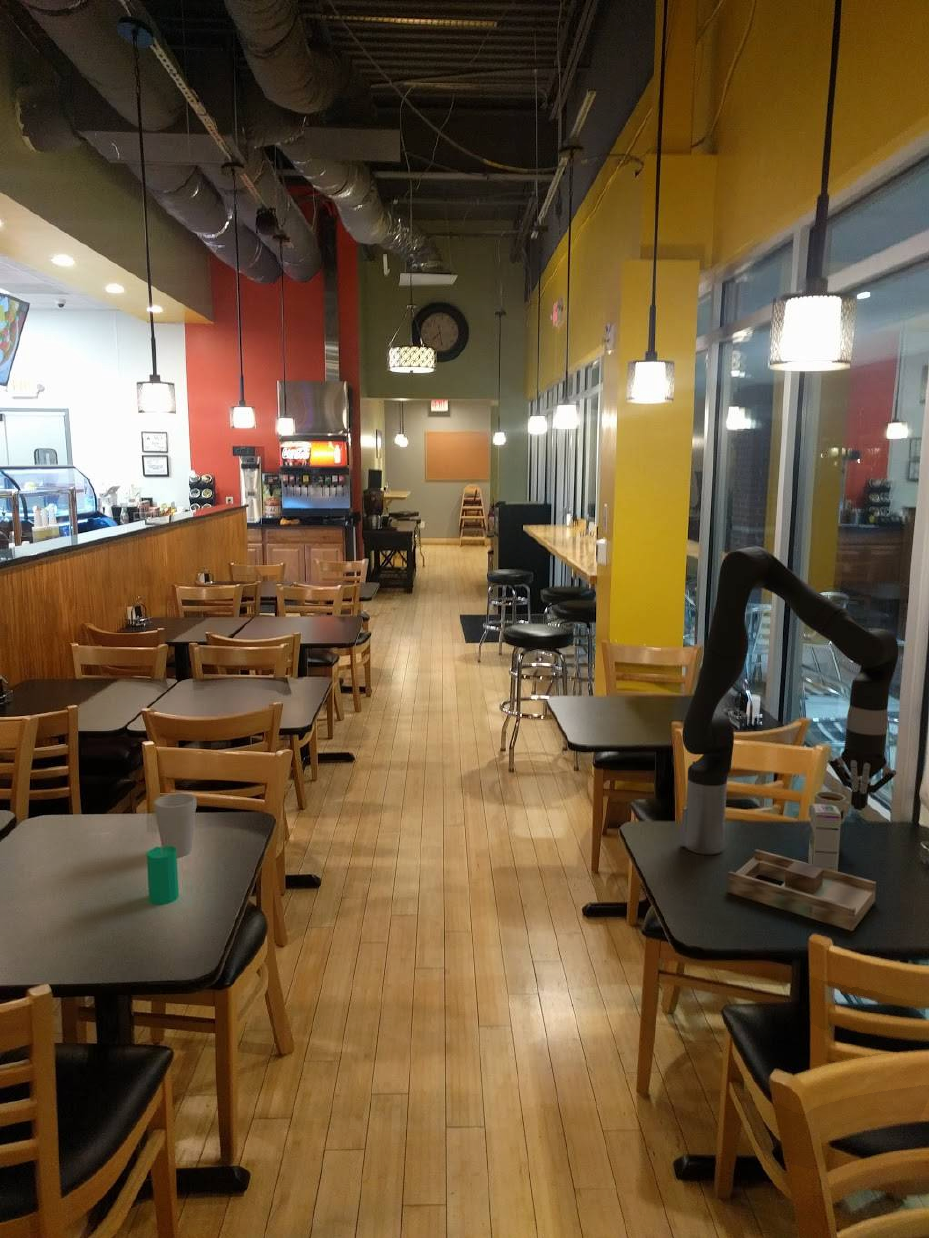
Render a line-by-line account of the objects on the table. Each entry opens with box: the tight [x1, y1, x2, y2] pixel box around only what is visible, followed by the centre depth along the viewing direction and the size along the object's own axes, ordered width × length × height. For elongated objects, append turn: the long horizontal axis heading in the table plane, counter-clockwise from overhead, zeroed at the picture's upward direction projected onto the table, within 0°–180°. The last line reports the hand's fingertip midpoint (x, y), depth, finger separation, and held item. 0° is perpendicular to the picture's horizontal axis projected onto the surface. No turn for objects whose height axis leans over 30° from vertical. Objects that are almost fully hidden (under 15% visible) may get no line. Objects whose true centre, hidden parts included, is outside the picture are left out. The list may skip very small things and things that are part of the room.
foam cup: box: [153, 792, 197, 859], centre depth 209 cm, size 10×9×13 cm
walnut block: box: [785, 861, 824, 894], centre depth 189 cm, size 6×6×4 cm
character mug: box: [808, 790, 851, 849], centre depth 215 cm, size 11×7×13 cm, turn 102°
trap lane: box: [726, 849, 877, 932], centre depth 190 cm, size 26×16×4 cm, turn 51°
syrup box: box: [807, 803, 842, 872], centre depth 203 cm, size 6×6×14 cm
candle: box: [146, 843, 179, 905], centre depth 186 cm, size 6×6×12 cm
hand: (858, 808), depth 182 cm, fingers closed
